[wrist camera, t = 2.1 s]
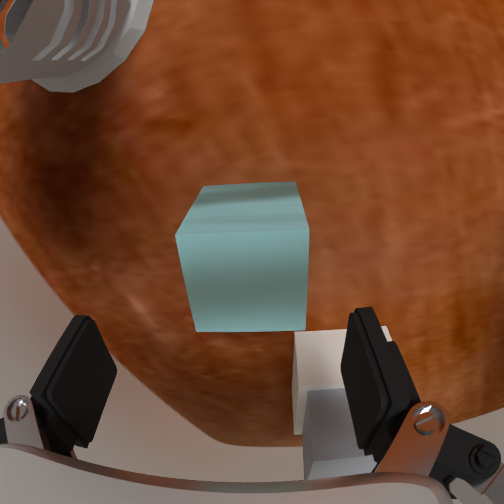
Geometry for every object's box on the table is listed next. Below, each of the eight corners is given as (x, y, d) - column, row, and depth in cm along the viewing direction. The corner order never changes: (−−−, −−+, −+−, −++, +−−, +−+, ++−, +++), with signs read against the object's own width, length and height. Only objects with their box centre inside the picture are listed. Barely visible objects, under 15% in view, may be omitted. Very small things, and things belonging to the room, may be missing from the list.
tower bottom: (294, 330, 22) (298, 385, 18) (385, 324, 22) (404, 375, 17) (291, 386, 25) (293, 434, 21) (368, 380, 25) (379, 425, 21)
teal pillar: (203, 185, 17) (174, 235, 12) (295, 181, 16) (309, 229, 11) (214, 263, 19) (196, 331, 14) (296, 260, 19) (305, 329, 14)
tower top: (307, 390, 18) (313, 461, 14) (396, 381, 17) (415, 445, 13) (301, 432, 21) (304, 488, 17) (376, 424, 20) (386, 477, 16)
